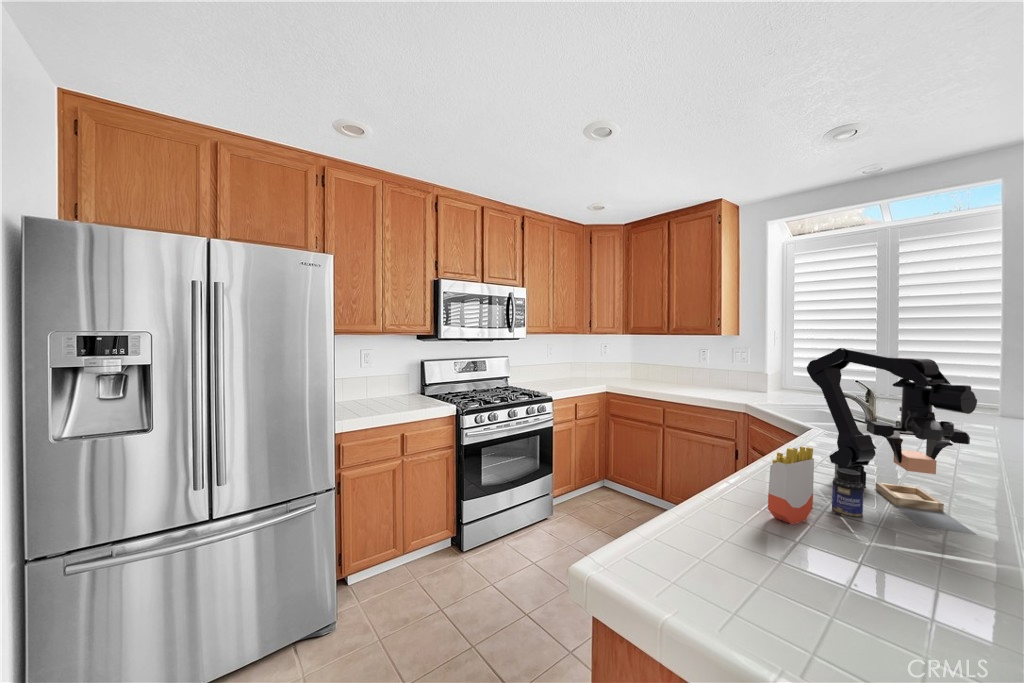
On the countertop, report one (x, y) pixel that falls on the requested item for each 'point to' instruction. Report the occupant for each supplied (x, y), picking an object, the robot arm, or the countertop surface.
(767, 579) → the countertop surface
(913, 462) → the card deck block
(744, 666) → the countertop surface
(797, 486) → the french fries container
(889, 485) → the tray
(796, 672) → the countertop surface
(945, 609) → the countertop surface
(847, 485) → the pill bottle
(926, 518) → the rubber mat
